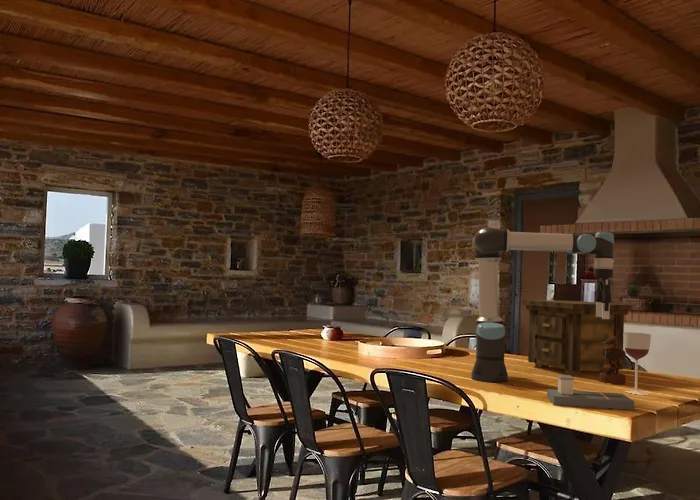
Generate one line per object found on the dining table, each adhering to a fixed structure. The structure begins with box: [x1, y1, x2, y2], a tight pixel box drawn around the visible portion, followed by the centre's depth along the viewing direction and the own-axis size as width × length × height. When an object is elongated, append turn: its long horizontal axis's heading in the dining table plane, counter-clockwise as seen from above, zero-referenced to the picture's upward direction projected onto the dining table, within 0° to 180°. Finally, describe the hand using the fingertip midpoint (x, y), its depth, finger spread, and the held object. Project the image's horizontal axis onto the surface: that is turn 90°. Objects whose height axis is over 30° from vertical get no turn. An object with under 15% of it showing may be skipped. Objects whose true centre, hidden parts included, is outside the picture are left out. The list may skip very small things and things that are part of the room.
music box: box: [599, 336, 627, 385], centre depth 270 cm, size 15×11×20 cm
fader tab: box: [557, 374, 575, 395], centre depth 221 cm, size 4×6×6 cm
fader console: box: [546, 388, 635, 411], centre depth 220 cm, size 26×14×3 cm, turn 82°
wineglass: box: [623, 332, 652, 396], centre depth 245 cm, size 9×10×23 cm
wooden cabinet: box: [522, 299, 633, 376], centre depth 302 cm, size 35×35×33 cm
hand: (602, 318), depth 270 cm, fingers open, 13 cm apart
